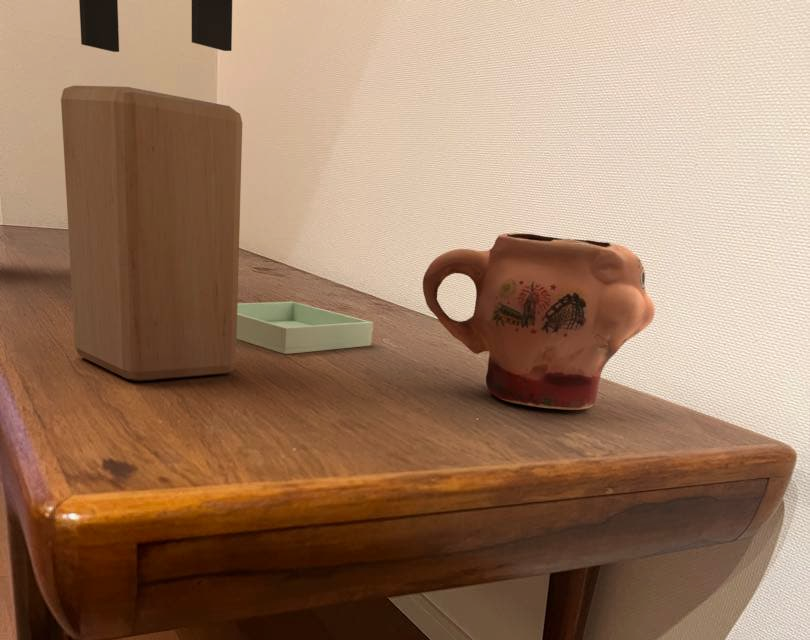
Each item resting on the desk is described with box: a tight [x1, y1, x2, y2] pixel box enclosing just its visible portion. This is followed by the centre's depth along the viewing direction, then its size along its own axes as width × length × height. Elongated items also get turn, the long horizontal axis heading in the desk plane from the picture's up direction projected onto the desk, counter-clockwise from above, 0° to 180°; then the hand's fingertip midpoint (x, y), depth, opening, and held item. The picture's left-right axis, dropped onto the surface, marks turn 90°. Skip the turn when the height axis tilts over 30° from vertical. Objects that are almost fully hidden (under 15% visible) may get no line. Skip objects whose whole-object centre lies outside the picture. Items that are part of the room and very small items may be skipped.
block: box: [60, 85, 243, 382], centre depth 61 cm, size 10×10×20 cm
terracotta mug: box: [422, 232, 656, 411], centre depth 67 cm, size 20×12×14 cm, turn 95°
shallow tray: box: [237, 301, 374, 355], centre depth 83 cm, size 13×13×2 cm
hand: (152, 48), depth 56 cm, fingers open, 13 cm apart
